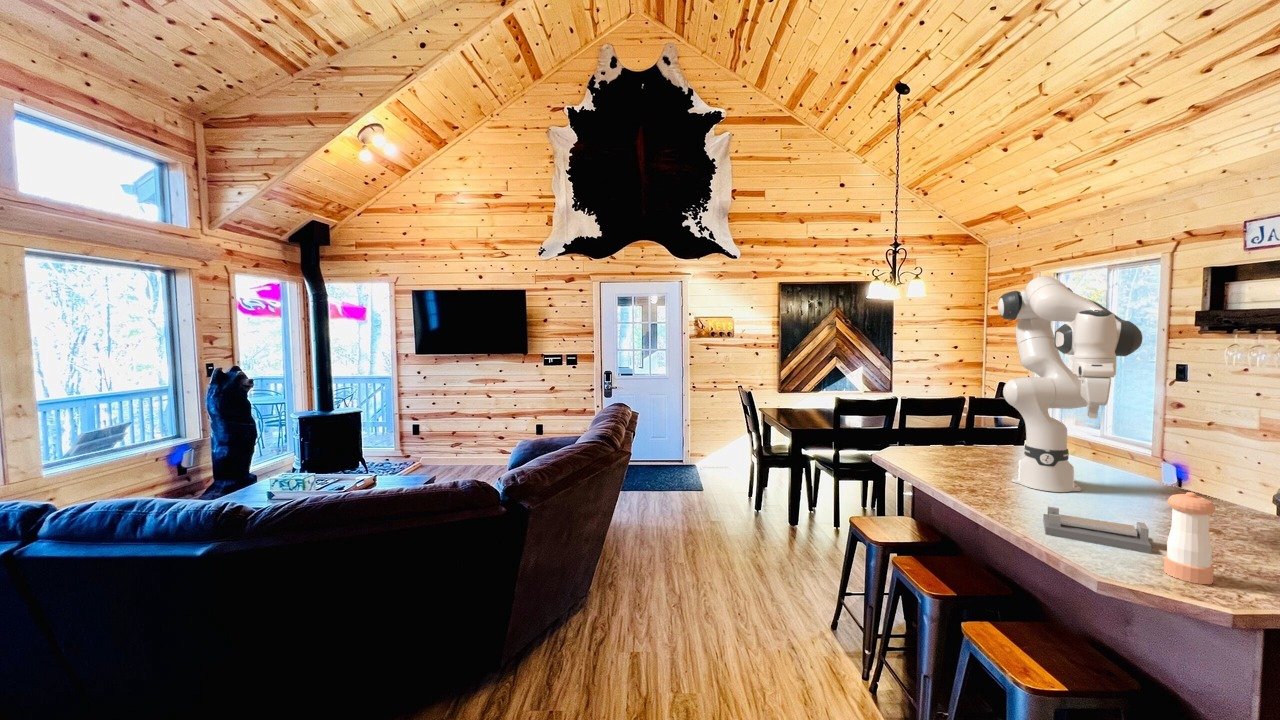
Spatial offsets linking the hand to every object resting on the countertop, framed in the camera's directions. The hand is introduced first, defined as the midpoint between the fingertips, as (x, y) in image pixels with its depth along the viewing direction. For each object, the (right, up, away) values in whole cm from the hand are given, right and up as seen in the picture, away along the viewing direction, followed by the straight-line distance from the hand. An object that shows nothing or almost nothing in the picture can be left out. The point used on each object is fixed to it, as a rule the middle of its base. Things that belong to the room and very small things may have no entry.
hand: (1092, 417), depth 134 cm
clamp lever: (-5, -29, -5) cm, 30 cm away
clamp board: (-4, -31, -5) cm, 32 cm away
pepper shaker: (-4, -33, -27) cm, 42 cm away
